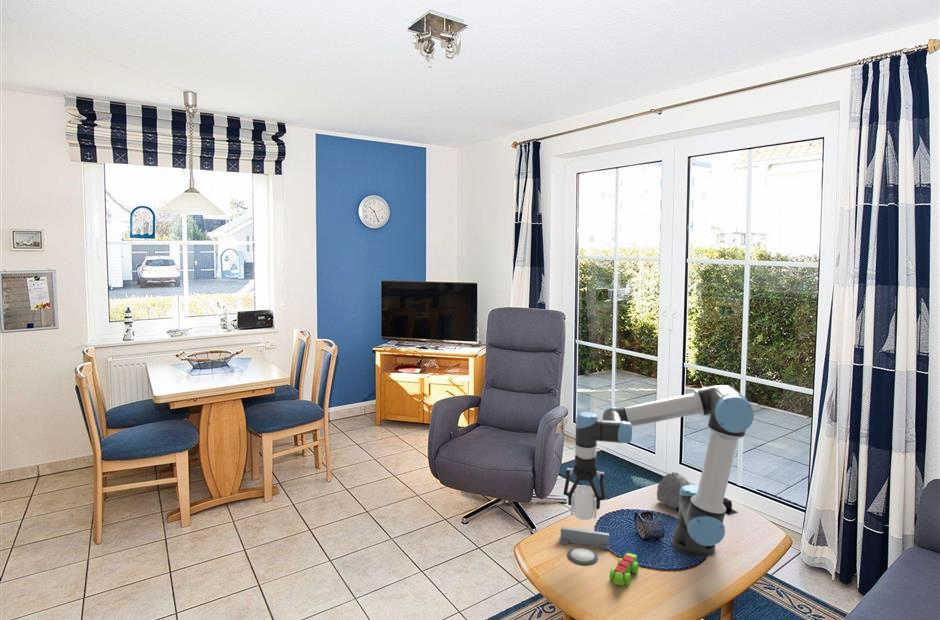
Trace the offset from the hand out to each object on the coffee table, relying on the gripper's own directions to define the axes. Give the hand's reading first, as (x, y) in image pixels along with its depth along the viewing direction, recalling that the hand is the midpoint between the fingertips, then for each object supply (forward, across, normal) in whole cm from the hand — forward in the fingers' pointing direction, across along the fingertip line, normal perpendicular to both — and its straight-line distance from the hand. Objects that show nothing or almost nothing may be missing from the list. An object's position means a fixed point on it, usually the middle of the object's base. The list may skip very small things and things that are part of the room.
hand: (583, 514), depth 206 cm
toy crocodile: (+16, -15, +9) cm, 24 cm away
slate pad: (+15, 0, +2) cm, 15 cm away
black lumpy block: (+16, -56, -52) cm, 78 cm away
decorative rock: (+15, -35, -48) cm, 62 cm away
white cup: (0, 0, 0) cm, 0 cm away
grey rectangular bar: (+15, 0, -8) cm, 17 cm away
